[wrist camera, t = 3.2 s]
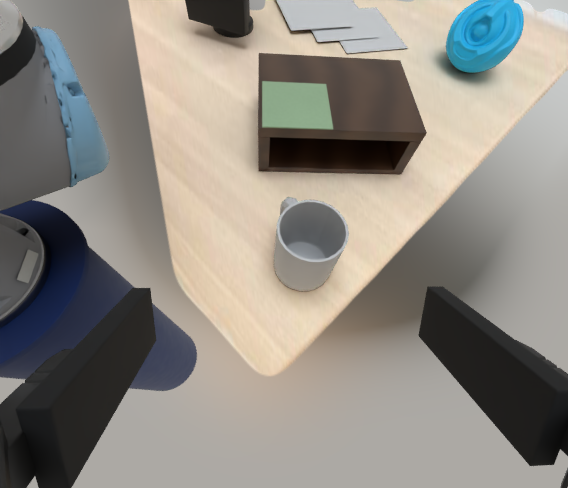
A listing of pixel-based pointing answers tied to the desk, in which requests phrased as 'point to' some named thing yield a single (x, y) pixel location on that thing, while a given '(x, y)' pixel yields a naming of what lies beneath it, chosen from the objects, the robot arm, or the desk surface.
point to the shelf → (335, 115)
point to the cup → (308, 243)
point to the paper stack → (342, 24)
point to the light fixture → (222, 15)
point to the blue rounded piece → (484, 34)
